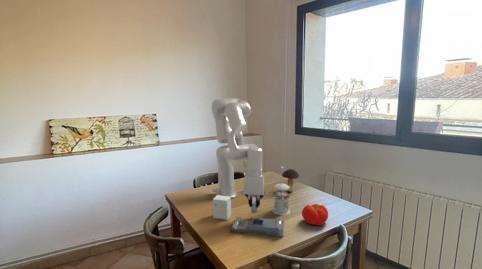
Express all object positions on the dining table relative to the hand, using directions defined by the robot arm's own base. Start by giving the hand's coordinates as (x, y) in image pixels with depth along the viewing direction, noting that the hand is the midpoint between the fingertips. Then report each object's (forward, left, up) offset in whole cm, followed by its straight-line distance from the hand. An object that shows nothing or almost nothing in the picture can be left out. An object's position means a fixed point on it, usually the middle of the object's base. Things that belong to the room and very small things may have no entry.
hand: (254, 205), depth 137 cm
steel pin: (0, 0, -3) cm, 3 cm away
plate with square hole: (+3, -12, -7) cm, 14 cm away
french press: (+13, +11, -7) cm, 19 cm away
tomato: (+30, 0, -7) cm, 31 cm away
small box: (-17, -2, -7) cm, 18 cm away
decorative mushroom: (+17, +39, -7) cm, 44 cm away
